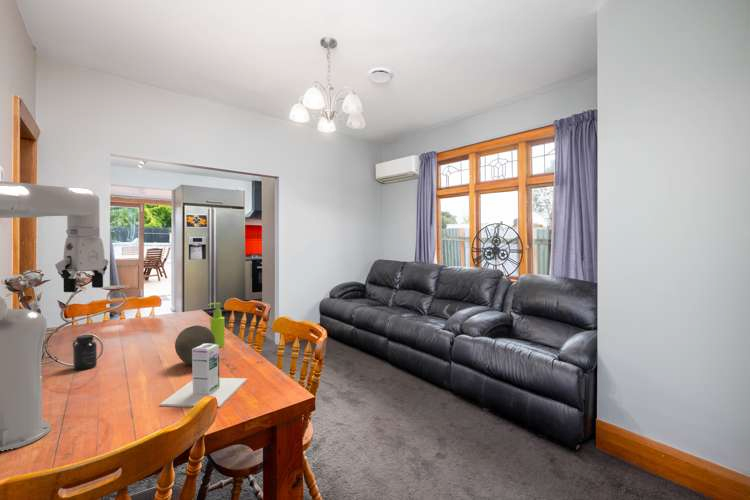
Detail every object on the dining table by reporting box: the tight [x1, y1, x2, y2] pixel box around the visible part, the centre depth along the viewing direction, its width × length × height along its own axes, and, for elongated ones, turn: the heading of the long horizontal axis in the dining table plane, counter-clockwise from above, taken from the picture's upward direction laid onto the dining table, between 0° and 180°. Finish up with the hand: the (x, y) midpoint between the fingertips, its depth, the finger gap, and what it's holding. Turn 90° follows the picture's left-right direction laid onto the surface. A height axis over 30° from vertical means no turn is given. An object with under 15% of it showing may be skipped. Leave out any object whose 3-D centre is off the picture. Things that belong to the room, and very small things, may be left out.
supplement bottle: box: [72, 334, 98, 371], centre depth 131 cm, size 7×7×12 cm
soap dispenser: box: [207, 302, 226, 348], centre depth 159 cm, size 6×7×20 cm
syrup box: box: [191, 343, 220, 395], centre depth 111 cm, size 6×6×14 cm
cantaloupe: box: [174, 325, 215, 365], centre depth 136 cm, size 14×14×15 cm
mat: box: [159, 377, 248, 409], centre depth 112 cm, size 20×18×1 cm
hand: (84, 289), depth 106 cm, fingers open, 9 cm apart
